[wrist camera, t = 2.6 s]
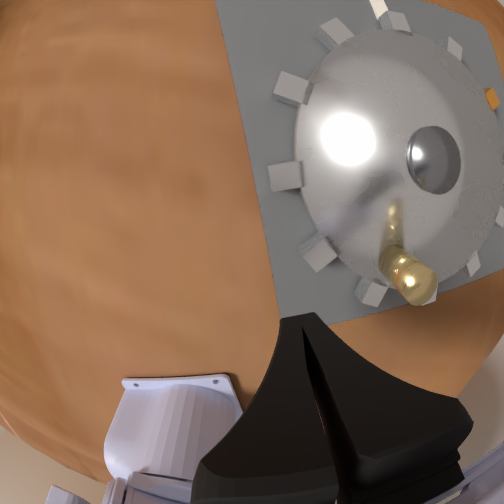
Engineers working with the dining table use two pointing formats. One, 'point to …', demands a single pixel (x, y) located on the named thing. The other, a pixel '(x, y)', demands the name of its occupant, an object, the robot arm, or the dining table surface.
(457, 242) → the sprocket
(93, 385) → the dining table surface
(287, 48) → the timing board
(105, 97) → the dining table surface
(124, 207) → the dining table surface
